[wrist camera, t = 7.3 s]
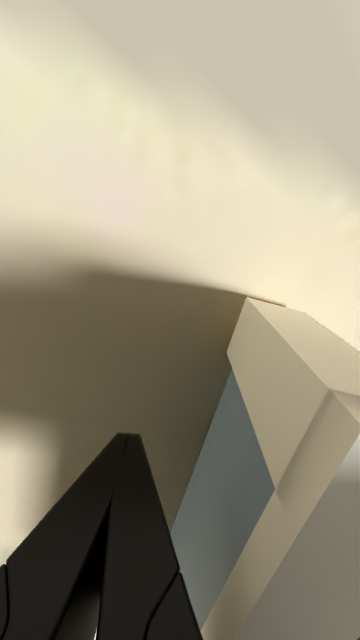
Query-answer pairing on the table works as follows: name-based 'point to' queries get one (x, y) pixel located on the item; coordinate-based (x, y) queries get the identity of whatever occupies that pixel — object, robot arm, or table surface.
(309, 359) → the gate
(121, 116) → the table surface
